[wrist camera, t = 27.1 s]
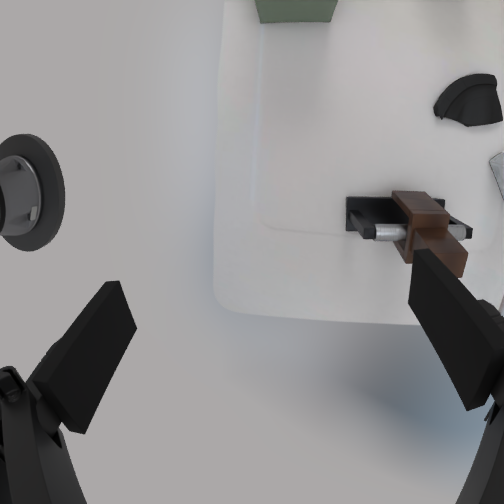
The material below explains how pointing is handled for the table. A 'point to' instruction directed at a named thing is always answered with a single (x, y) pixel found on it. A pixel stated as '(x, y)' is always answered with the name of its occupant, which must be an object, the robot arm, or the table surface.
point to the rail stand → (389, 219)
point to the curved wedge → (471, 101)
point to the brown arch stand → (429, 231)
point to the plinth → (295, 10)
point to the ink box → (498, 170)
